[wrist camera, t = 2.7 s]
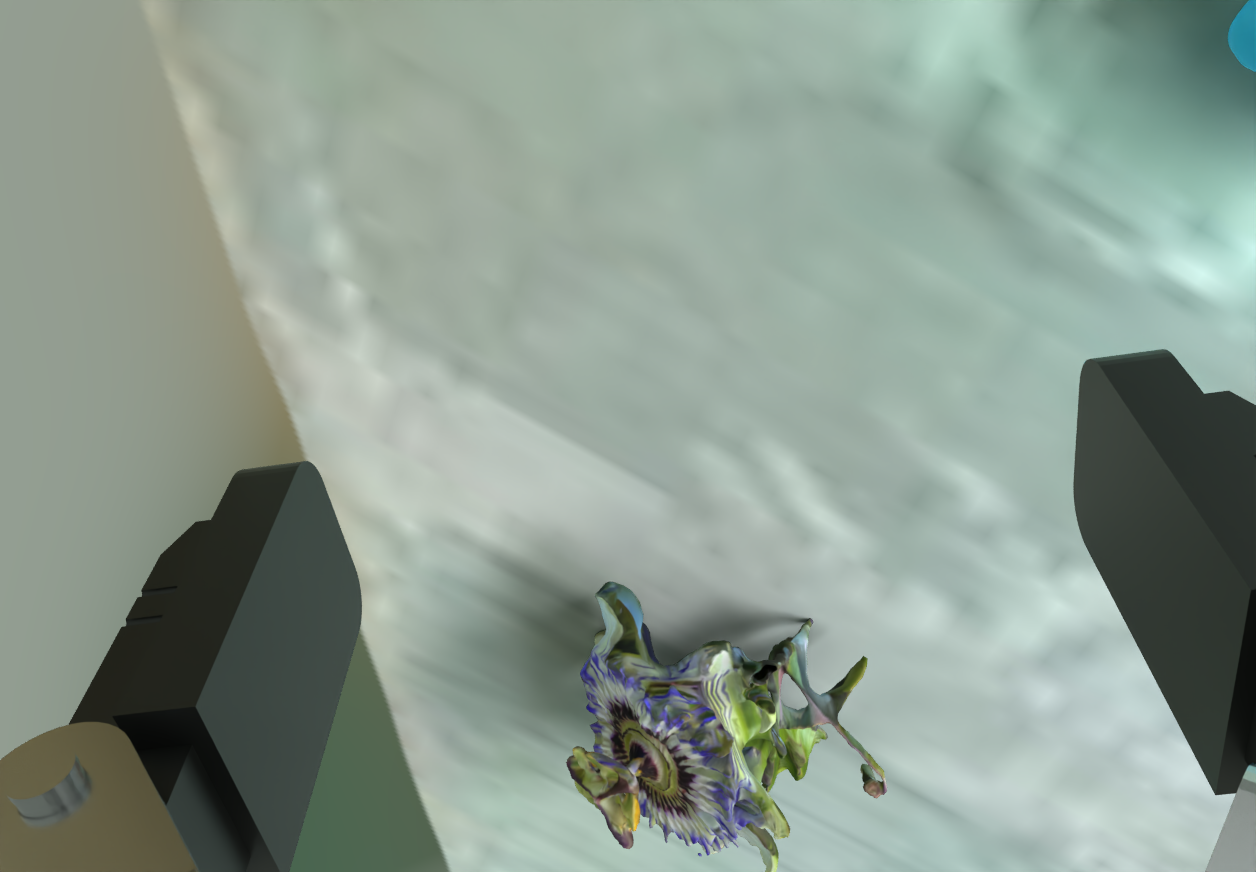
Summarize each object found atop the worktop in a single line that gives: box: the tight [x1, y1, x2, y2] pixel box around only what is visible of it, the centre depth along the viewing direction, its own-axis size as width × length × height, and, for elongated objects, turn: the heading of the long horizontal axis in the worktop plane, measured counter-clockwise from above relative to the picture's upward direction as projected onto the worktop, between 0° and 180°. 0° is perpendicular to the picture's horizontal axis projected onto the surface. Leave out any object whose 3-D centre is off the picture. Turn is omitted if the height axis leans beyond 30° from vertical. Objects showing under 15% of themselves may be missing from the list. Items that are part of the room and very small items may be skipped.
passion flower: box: [566, 582, 887, 872], centre depth 43 cm, size 11×11×12 cm
